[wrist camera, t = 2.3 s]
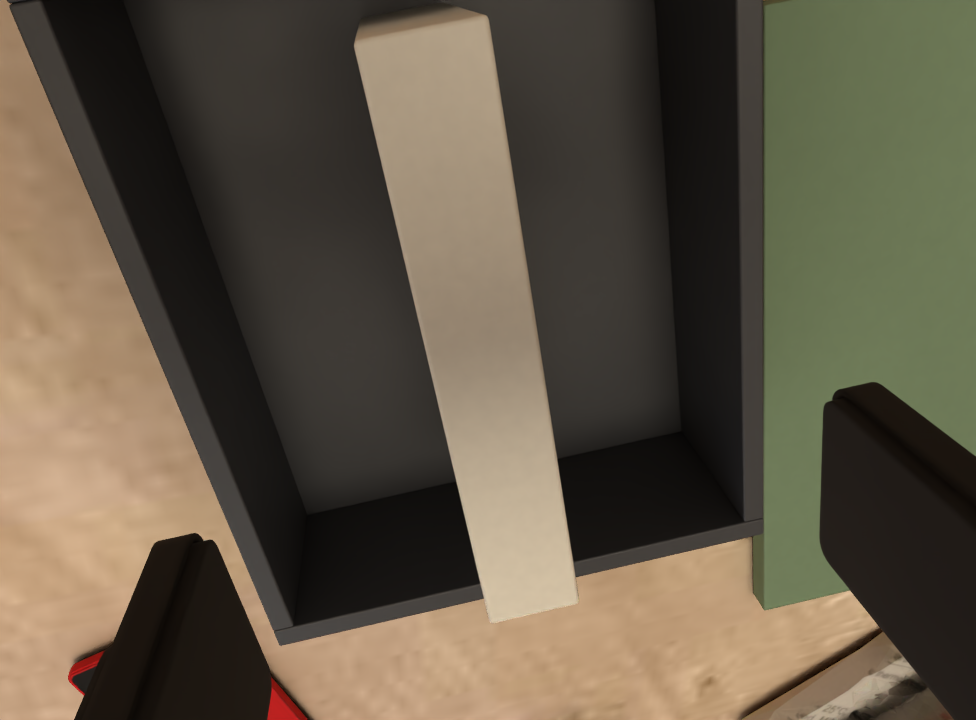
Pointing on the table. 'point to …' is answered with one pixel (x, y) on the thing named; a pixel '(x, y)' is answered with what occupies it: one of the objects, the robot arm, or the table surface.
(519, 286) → the board
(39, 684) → the table surface
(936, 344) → the mat
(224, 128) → the bin
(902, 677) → the packaged product
